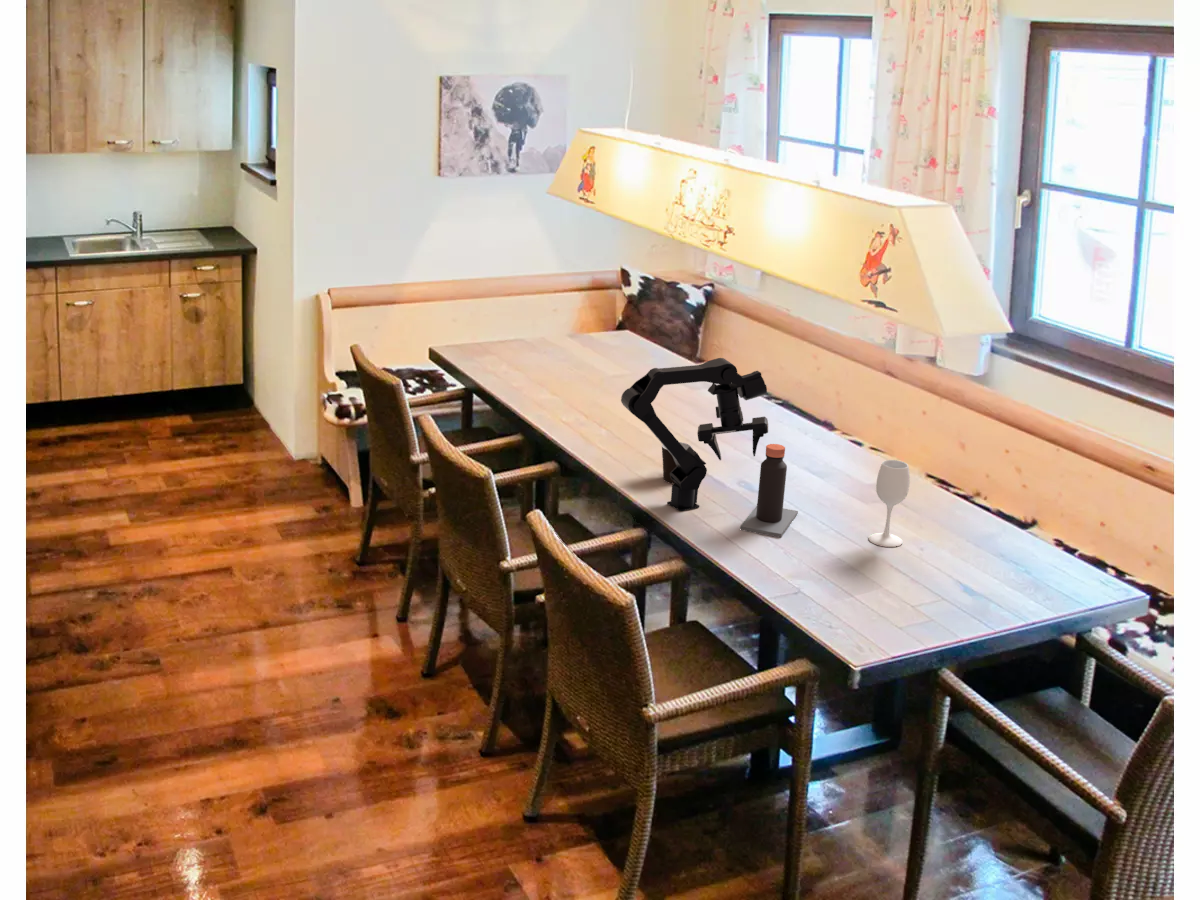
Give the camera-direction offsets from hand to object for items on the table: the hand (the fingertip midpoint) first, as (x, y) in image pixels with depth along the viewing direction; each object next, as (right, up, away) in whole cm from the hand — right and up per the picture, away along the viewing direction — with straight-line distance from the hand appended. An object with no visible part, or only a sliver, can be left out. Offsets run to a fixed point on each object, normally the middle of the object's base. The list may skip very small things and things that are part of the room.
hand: (737, 457), depth 352 cm
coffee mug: (-15, -6, +20) cm, 26 cm away
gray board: (+8, -17, -8) cm, 20 cm away
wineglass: (+36, -21, -17) cm, 45 cm away
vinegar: (+7, -16, -8) cm, 20 cm away
